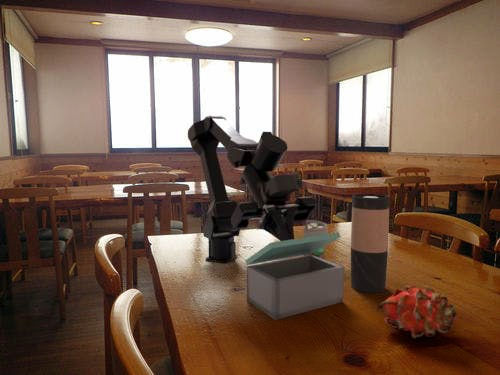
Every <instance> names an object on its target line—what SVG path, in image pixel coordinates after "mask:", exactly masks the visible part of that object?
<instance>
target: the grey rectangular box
mask: <svg viewBox="0 0 500 375" xmlns="http://www.w3.org/2000/svg"><path fill="white" fill-rule="evenodd" d="M344 269H345V267H344V266H342V265H339V264H338V263H333V262H331V261H329V260H326V259H325V258H324V259H321V258H319V257H316V256H313V255H306V256H303V255H301V256H296V257H290V258H285V259H279V260H273V261H268V262H262V263H257V264H251V265H246V301H247V302H248V303H250V304H251V305H253V306H254V307H255V308H257V309H259V310H260V311H261V312H262V313H263V314H266V315H267V316H268V317H269V318H271V319H272V320H274V321H277V320H281V319H284V318H288V317H292V316H297V315H300V314H302V313H306V312H307V313H308V312H310V311H314V310H318V309H321V308H325V307H328V306H333V305H336V304H340V303H343V302H344V301H343V300H344V276H345V274H344V273H345V271H344Z"/></svg>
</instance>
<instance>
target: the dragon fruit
mask: <svg viewBox="0 0 500 375" xmlns="http://www.w3.org/2000/svg"><path fill="white" fill-rule="evenodd" d="M423 288H425V289H423ZM423 288H422V287H416V286H415V285H411V284H410V285H405V287H404V288H401V289H399V288H398V289H395V291H394V293H393V294H392V295H391V296H390V297H388V298H386V300H384V301H382V302H380V304H379V305H378V306H377V307H376V312H380V311H381V312H382V313H383V314H384V315H386V317H384V322H385V323H386V324H387V325H388V324H389V326H390V327H391V328H393V329H397V328H398V330H401V331H404V332H411V337H412V338H413V339H417V338H420V337H423V336H424V335H425V336H426V337H427V338H428V337H429V338H430V337H431V338H432V337H434V335H436V332H437V331H438V332H439V333H442V334H443V333H444V334H446V333H449V330H450V329H451V328H452V326H453V323H454V320H455V318H456V316H457V315H458V313H457V311H455V307H454V305H453V304H452V303H451V302H450V301H449V300H448V297H446V296H445V295H442V294H440V293H436V291H435V290H434V289H432V288H431V287H430V286H428V285H423ZM387 315H388V316H387Z"/></svg>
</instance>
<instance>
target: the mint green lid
mask: <svg viewBox="0 0 500 375" xmlns="http://www.w3.org/2000/svg"><path fill="white" fill-rule="evenodd" d="M338 239H341V234H340V232H339V231H338V232H333V233H332V232H331V233H328V234H325V235H318V236H312V237H305V238H303V237H299V238H294V239H292V240H285V241H280V240H279V241H274V242H270V243H268V244H267V245H266V246H265V245H264V247H262V248H261V249H259V250H258V251H257V252H255V253H254V254H253V255H251V256H250V257H248V258H247V259H246V260H245V264H246V266H251V265H257V264H262V263H268V262H273V261H279V260H284V259H290V258H295V257H301V256H303V255H307V254H311V253H313V252H315V251H317V250H319V249H320V248H322V247H324V246H325V247H326V246H328V245H329V244H331V243H333V242H334V241H336V240H338Z"/></svg>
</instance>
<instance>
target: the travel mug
mask: <svg viewBox="0 0 500 375" xmlns="http://www.w3.org/2000/svg"><path fill="white" fill-rule="evenodd" d="M351 202H352V203H351V204H352V205H351V228H350V230H351V232H350V286H351V288H352V289H353V290H354V291H355V290H356V291H357V292H361V293H364V294H365V293H367V294H378V293H379V294H380V293H382V292H384V291H385V290H386V281H387V269H388V254H389V251H388V250H389V234H390V233H389V228H390V195H389V194H388V195H387V194H382V193H377V194H376V195H372V196H370V195H367V194H366V193H354V194H352V200H351Z"/></svg>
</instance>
